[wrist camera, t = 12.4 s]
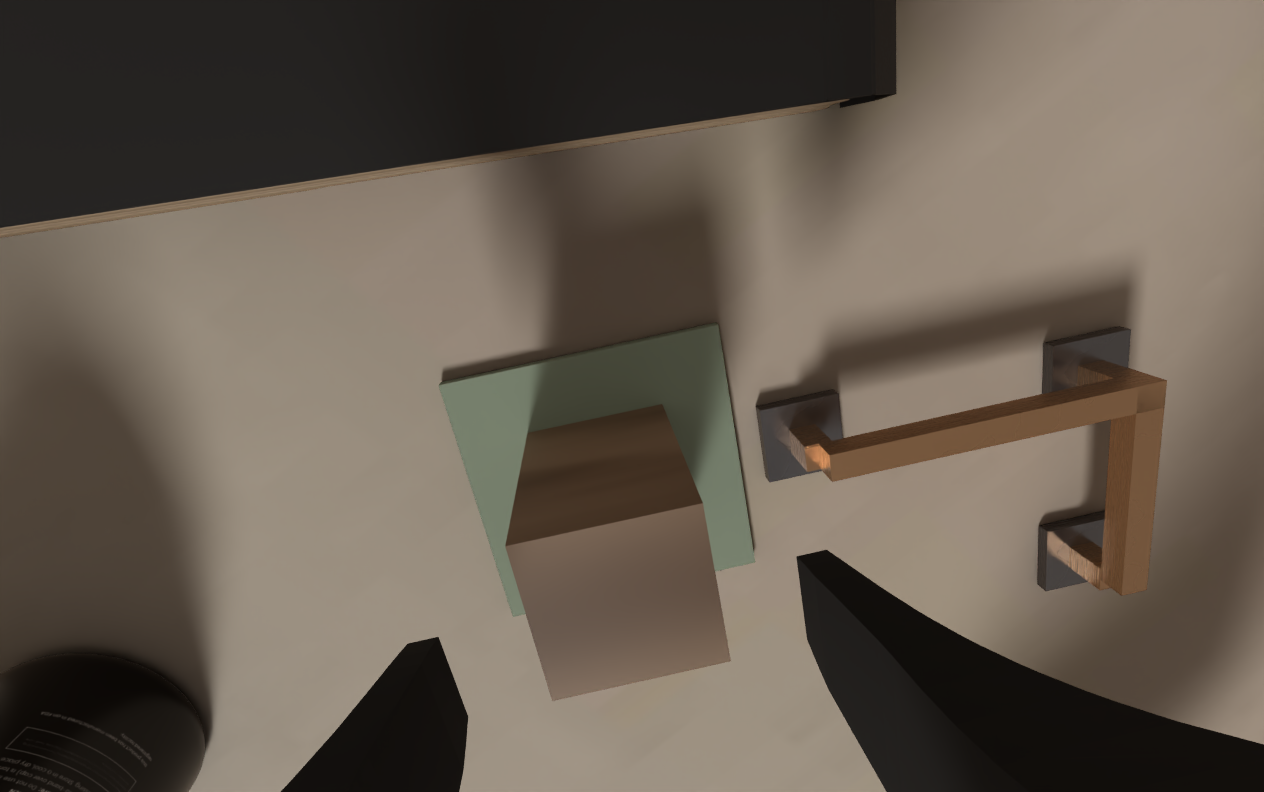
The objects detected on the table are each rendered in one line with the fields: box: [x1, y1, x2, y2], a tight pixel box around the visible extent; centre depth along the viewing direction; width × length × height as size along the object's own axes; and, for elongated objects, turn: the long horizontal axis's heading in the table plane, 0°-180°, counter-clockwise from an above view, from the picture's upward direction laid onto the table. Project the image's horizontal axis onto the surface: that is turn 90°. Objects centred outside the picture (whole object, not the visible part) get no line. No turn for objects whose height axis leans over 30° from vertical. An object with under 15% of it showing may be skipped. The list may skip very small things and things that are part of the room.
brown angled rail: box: [756, 326, 1167, 596], centre depth 19 cm, size 9×11×2 cm
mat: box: [439, 323, 755, 617], centre depth 19 cm, size 8×8×1 cm
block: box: [505, 404, 731, 701], centre depth 16 cm, size 4×4×6 cm
